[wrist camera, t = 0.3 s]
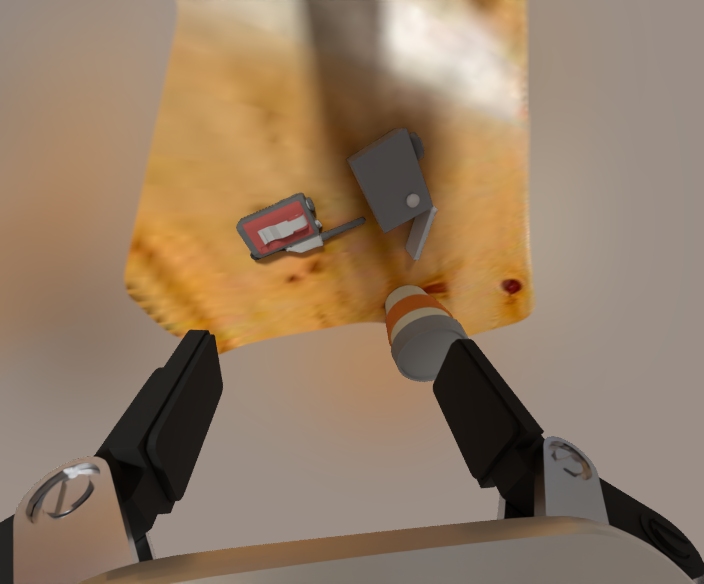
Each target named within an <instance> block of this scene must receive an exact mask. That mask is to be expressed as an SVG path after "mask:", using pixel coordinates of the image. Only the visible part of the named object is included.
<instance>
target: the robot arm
mask: <svg viewBox="0 0 704 584" xmlns="http://www.w3.org/2000/svg"><path fill="white" fill-rule="evenodd" d="M222 390H223V382H222V377H221V371H220V364H219V358H218V352H217V346H216V340H215V336H214V335H212V334H210V333H209V331H208V330H189V331H188V332H187V333H186V335H185V336H184V338H183V339H182V341H181V342H180V344H179V345H178V347H177V348H176V350H175V351H174V353H173V354H172V356H171V357H170V359H169V360H168V362H167V363H166V365H165V366H164V368H158V369H156V370H155V371H154V372H153V373H152V375H151V376H150V377H149V379H148V380H147V382H146V383H145V385H144V386H143V387H142V389H141V390H140V392H139V393H138V394H137V396H136V397H135V399H134V400H133V402H132V403H131V405H130V406H129V407H128V409H127V410H126V412H125V413H124V414H123V416H122V417H121V419H120V420H119V421H118V423H117V424H116V426H115V427H114V429H113V430H112V431H111V433H110V434H109V436H108V437H107V438H106V440H105V441H104V443H103V444H102V446H101V447H100V448H99V450H98V451H97V452H96V454H95V455H94V457H91V456H87V457H83V458H78V459H75V460H73V461H70V462H68V463H65V464H63V465H61V466H59V467H58V468H56V469H54V470H53V471H51V472H49V473H48V474H47V475H45V476H44V477H43V478H42V479H40V480H39V481H38V482H37V483H36V484H34V486H33V487H32V488H31V489H30V490H29V491H28V492H27V493H26V494H25V495H24V497H23V498H22V500H21V502H20V503H19V505H18V507H17V509H16V512H15V514H14V515H12V516H11V517H9V518H7V519H5V520H4V521H2V522H1V523H0V584H704V562H703V561H702V558H701V557H700V554H699V552H698V551H697V550H696V548H695V547H694V546H693V544H692V543H691V542H690V541H689V540H688V538H687V537H686V536H685V535H684V534H683V533H682V532H681V531H680V530H679V529H678V528H677V527H676V526H674V525H673V524H672V523H671V522H670V521H668V520H667V519H666V518H664V517H663V516H661V515H660V514H658V513H657V512H655V511H653V510H652V509H650V508H649V507H647V506H645V505H644V504H642V503H640V502H638V501H637V500H635V499H634V498H632V497H630V496H629V495H627V494H625V493H624V492H622V491H621V490H619V489H617V488H616V487H614V486H612V485H611V484H609V483H607V482H606V481H604V480H602V479H601V478H599V476H598V473H597V470H596V468H595V466H594V465H593V463H592V462H591V460H590V459H589V458H588V457H587V456H586V455H585V454H584V453H583V452H582V451H581V450H579V448H577V447H576V446H575V445H573V444H572V443H570V442H568V441H566V440H564V439H562V438H559V437H554V436H552V437H547V438H546V439H544V438H543V437H542V435H541V434H542V433H543V432H544V431H543V430H542V428H541V427H540V426H539V425H538V423H537V422H536V421H535V419H534V418H533V417H532V416H531V414H530V413H529V412H528V410H527V409H526V408H525V406H524V405H523V404H522V403H521V401H520V400H519V399H518V397H517V396H516V395H515V394H514V392H513V391H512V390H511V388H510V387H509V386H508V385H507V384H506V382H505V381H504V379H503V378H502V377H501V376H500V374H499V373H498V372H497V370H496V369H495V368H494V367H493V365H492V364H491V363H490V361H489V360H488V359H487V358H486V356H485V355H484V354H483V352H482V351H481V350H480V349H479V347H478V346H477V345H476V343H475V342H474V341H473V340H471V339H456V340H455V342H453V343H452V344H451V345H450V348H449V350H448V352H447V354H446V357H445V359H444V361H443V363H442V366H441V368H440V370H439V372H438V375H437V377H436V379H435V381H434V384H433V392H434V394H435V397H436V399H437V401H438V403H439V405H440V408H441V410H442V412H443V414H444V416H445V418H446V421H447V423H448V425H449V427H450V429H451V431H452V434H453V436H454V438H455V440H456V442H457V444H458V447H459V449H460V451H461V453H462V455H463V457H464V460H465V462H466V464H467V466H468V468H469V471H470V473H471V474H472V476H473V477H474V478H475V479H477V481H478V483H479V485H480V487H481V488H490V487H495V486H496V487H497V489H498V491H499V493H500V497H499V506H498V516H497V520H490V521H480V522H470V523H460V524H450V525H440V526H430V527H420V528H412V529H402V530H392V531H382V532H374V533H364V534H355V535H345V536H335V537H326V538H318V539H308V540H299V541H291V542H281V543H273V544H263V545H254V546H246V547H238V548H229V549H222V550H215V551H206V552H199V553H191V554H184V555H176V556H170V557H165V558H160V559H156V556H155V553H154V549H153V546H152V543H151V540H150V537H149V533H148V531H149V530H150V529H151V528H152V526H153V524H154V521H155V519H156V517H157V514H168V513H171V511H172V508H173V505H174V503H175V501H179V500H181V498H182V497H183V495H184V492H185V490H186V487H187V485H188V482H189V480H190V477H191V474H192V472H193V469H194V466H195V463H196V461H197V458H198V456H199V453H200V450H201V448H202V445H203V442H204V439H205V437H206V434H207V432H208V429H209V426H210V424H211V421H212V418H213V415H214V413H215V410H216V408H217V405H218V402H219V400H220V397H221V394H222Z"/></svg>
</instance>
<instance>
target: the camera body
mask: <svg viewBox="0 0 704 584" xmlns="http://www.w3.org/2000/svg"><path fill="white" fill-rule="evenodd" d="M422 158H424V148H423V144H422V142H421V139H420V138H419V137H418V135H417V134H416V133H415V132H412V133H410V134H408V131H407V128H398V129H394V130H392V131H390V132H389V133H387V134H386V135H384V136H382V137H381V138H379V139H378V140H376V141H374V142H373V143H371V144H370V145H368V146H366V147H365V148H363V149H362V150H360V151H358V152H357V153H355V154H354V155H352V156H350V157H349V158H347V159H346V160H347V162H348V164H349V166H350V168H351V170H352V172H353V174H354V176H355V178H356V180H357V182H358V184H359V186H360V188H361V190H362V192H363V195H364V197H365V199H366V201H367V203H368V205H369V207H370V209H371V211H372V213H373V215H374V217H375V219H376V221H377V223H378V224H379V226H380V227H381V229H382V230H383V232H384V233H387V232H388V231H390V230H392V229H394V228H396V227H397V226H399V225H401V224H403V223H405V222H407V221H408V220H410V219H412V218H414V217H416V216H417V215H419V214H421V213H423V212H425V211H426V210H428V209H430V208H432V207H433V204H432V201H431V198H430V195H429V192H428V189H427V186H426V183H425V181H424V178H423V175H422V172H421V169H420V166H419V163H418V161H419V160H421V159H422Z"/></svg>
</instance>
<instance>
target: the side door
mask: <svg viewBox="0 0 704 584" xmlns="http://www.w3.org/2000/svg"><path fill="white" fill-rule="evenodd" d="M436 212H437V208H436V207H434V206H433V207H432V208H430V209H428V210H426V211H425V212H423V213H421V214H419V215H417V216H416V217H415V219H414V222H413V226H412V229H411V232H410V235H409V238H408V241H407V244H406V247H405V249H406V250H407V251H408V253H409V254H410V255H411V257H412V258H413V259H414V260H419V257H420V255H421V252H422V249H423V246H424V244H425V241H426V238H427V235H428V233H429V230H430V227H431V225H432V222H433V219H434V216H435V214H436Z"/></svg>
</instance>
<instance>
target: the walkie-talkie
mask: <svg viewBox="0 0 704 584" xmlns="http://www.w3.org/2000/svg"><path fill="white" fill-rule="evenodd" d="M311 210H312V211H314V210H315V207H314V204H313V202H312V200H311V198H310V197H308V198H307V200H306V198H305V196H304V194H303V193H298V194H295V195H292V196H291V197H289V198H287V199H283V200H281V201H279V202H278V203H275V204H274V205H272V206H269V207H268V208H267V207H266V208H265V209H262V210H259V212H258V211H257V212H256V213H253V214H250V215H248V216H247V217H244V218H241V220H240V221H239V222H238V224H237V227H236V229H237V231H238V233H239V234H240V236H241V237H242V239H243V240H244V242H245V243H246V245H247V246H248V248H249V249H250V251H251V254H250V256H251V258H252V259H254V260H259V259H261V258H263V257H266V256H268V255H271V254H273V253H276V252H278V251H287V252H288V251H294V252H299V253H303V252H305V251H308V250H310V249H313V248H315V247H320V246H323V241H324V240H327V239H329V238H330V237H332V236H334V235H337V234H339V233H342V232H344V231H346V230H349V229H351V228H354V227H356V226H359V225H361V224H363V223H365V218H363V217H361V218H359V219H356V220H354V221H352V222H349V223H347V224H344V225H342V226H339V227H337V228H335V229H332V230H330V231H327V232H326V231H325V232H323V233H319V229H320V227H322V225H321V223H320V222H319V220H315V217H314V215H313V213H312V211H311Z"/></svg>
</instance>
